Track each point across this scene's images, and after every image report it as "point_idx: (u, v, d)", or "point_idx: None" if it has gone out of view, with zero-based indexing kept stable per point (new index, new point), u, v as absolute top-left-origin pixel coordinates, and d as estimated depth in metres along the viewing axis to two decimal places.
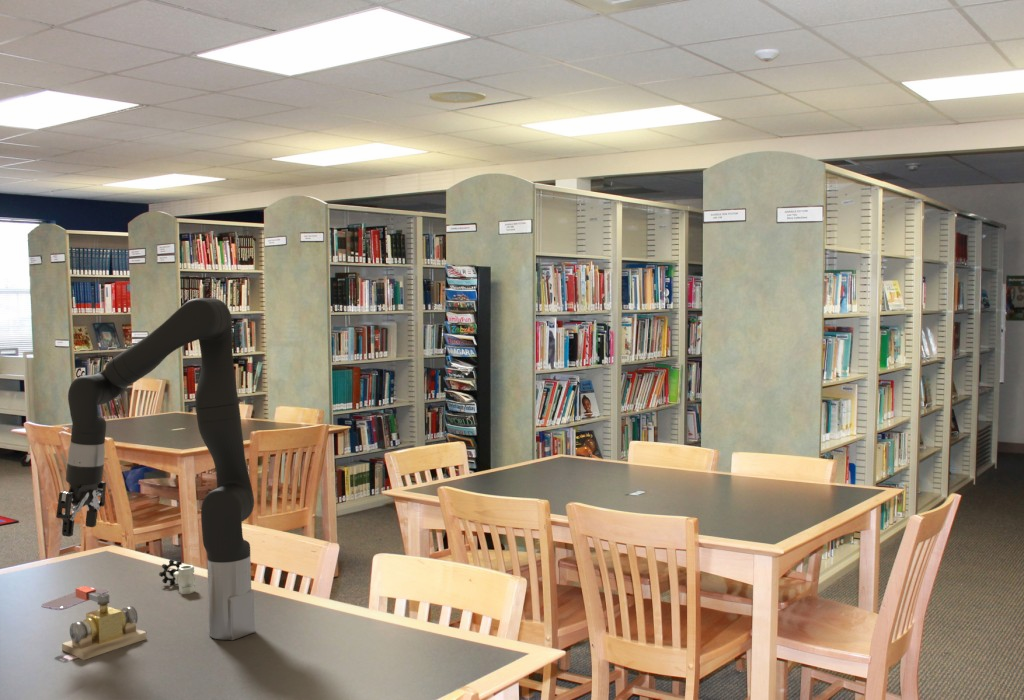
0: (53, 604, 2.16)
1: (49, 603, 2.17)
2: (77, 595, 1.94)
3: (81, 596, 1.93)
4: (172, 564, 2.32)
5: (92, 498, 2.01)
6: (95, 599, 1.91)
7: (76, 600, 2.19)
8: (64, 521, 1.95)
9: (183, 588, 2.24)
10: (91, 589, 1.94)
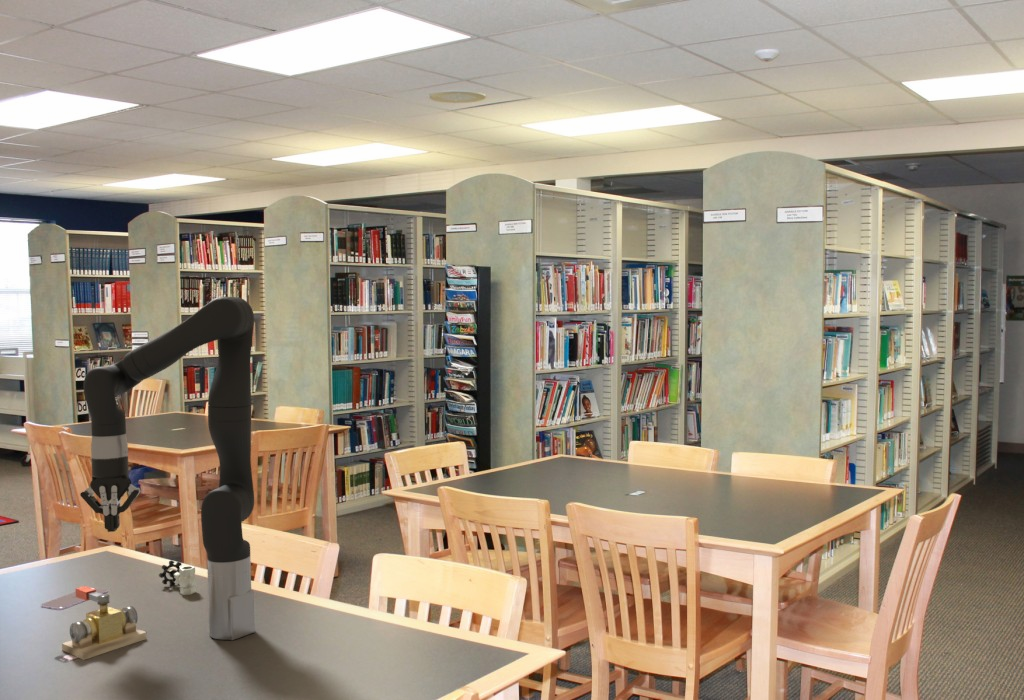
0: (52, 604, 2.16)
1: (49, 603, 2.17)
2: (77, 595, 1.94)
3: (81, 596, 1.93)
4: (172, 565, 2.31)
5: None
6: (95, 599, 1.91)
7: (75, 600, 2.19)
8: None
9: (184, 589, 2.23)
10: (91, 589, 1.94)
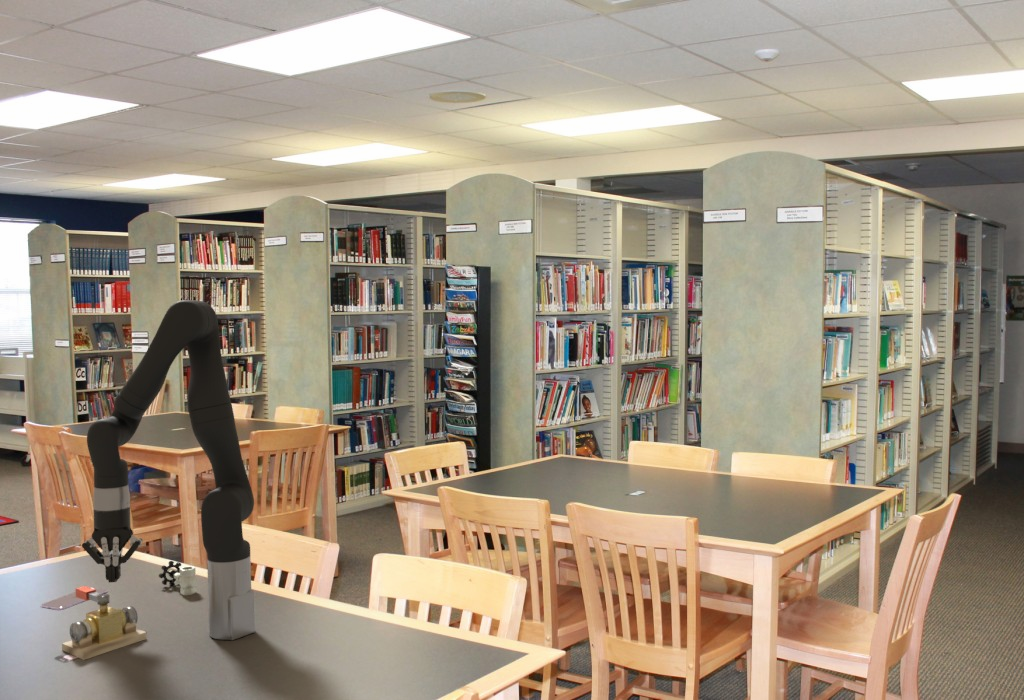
0: (52, 604, 2.16)
1: (48, 603, 2.17)
2: (77, 595, 1.94)
3: (81, 596, 1.93)
4: (172, 565, 2.31)
5: None
6: (95, 599, 1.91)
7: (75, 600, 2.19)
8: None
9: (185, 589, 2.23)
10: (91, 589, 1.94)
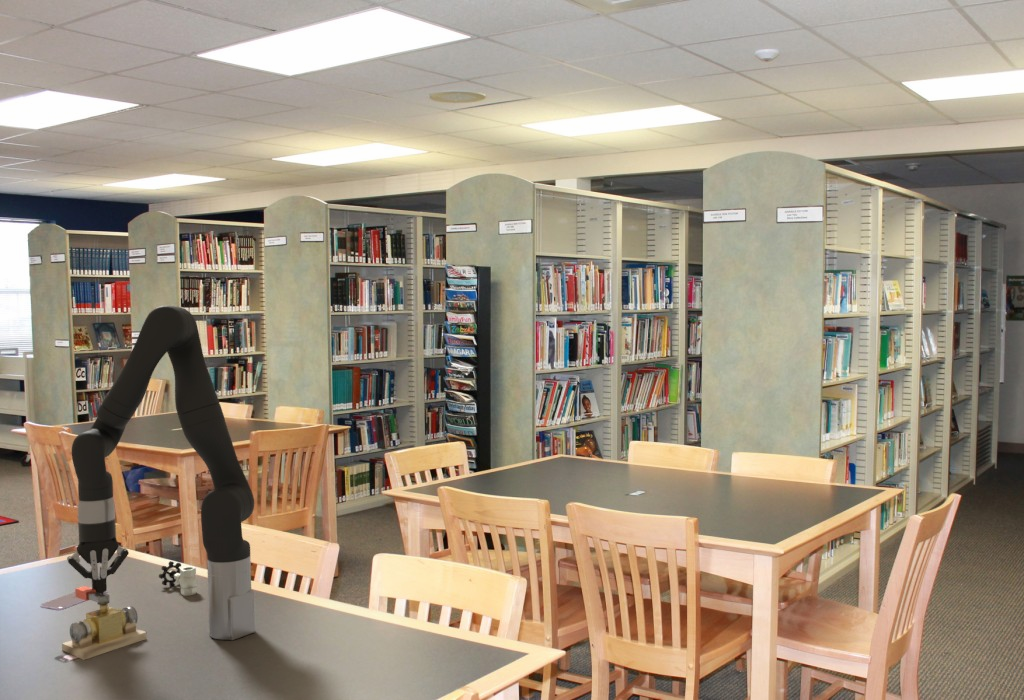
0: (52, 604, 2.16)
1: (48, 603, 2.17)
2: (77, 595, 1.94)
3: (81, 596, 1.93)
4: (172, 566, 2.31)
5: (101, 557, 1.95)
6: (95, 599, 1.91)
7: (75, 600, 2.19)
8: None
9: (185, 590, 2.23)
10: (91, 589, 1.94)
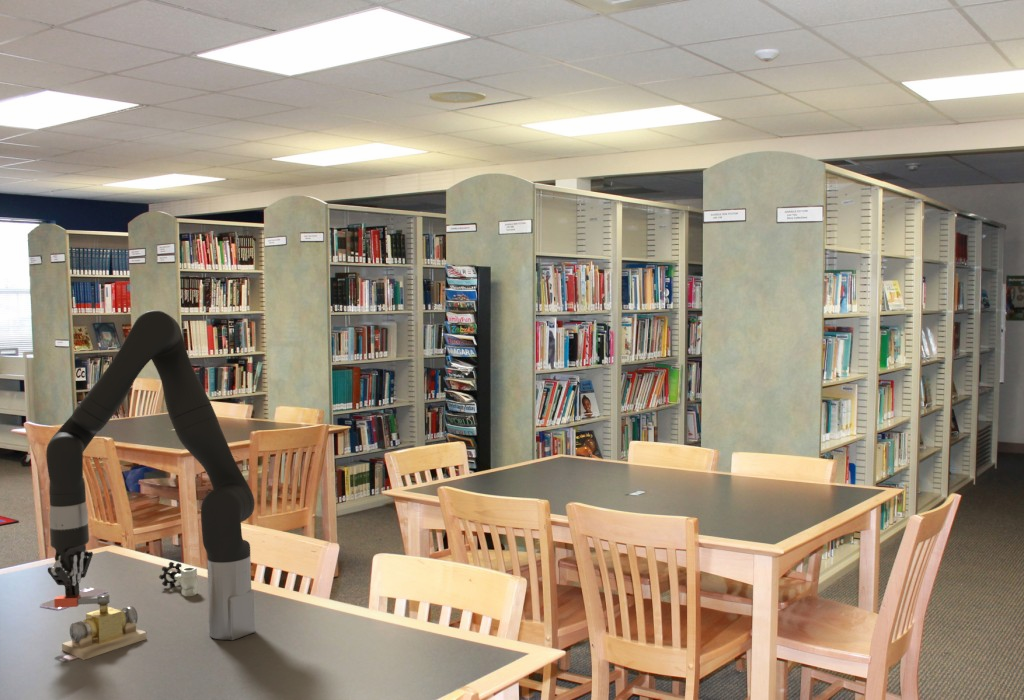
0: (51, 604, 2.16)
1: (48, 603, 2.17)
2: (58, 605, 1.88)
3: (66, 604, 1.88)
4: (172, 566, 2.30)
5: (78, 561, 1.92)
6: (93, 602, 1.89)
7: None
8: (66, 587, 1.91)
9: (186, 590, 2.22)
10: (75, 595, 1.90)
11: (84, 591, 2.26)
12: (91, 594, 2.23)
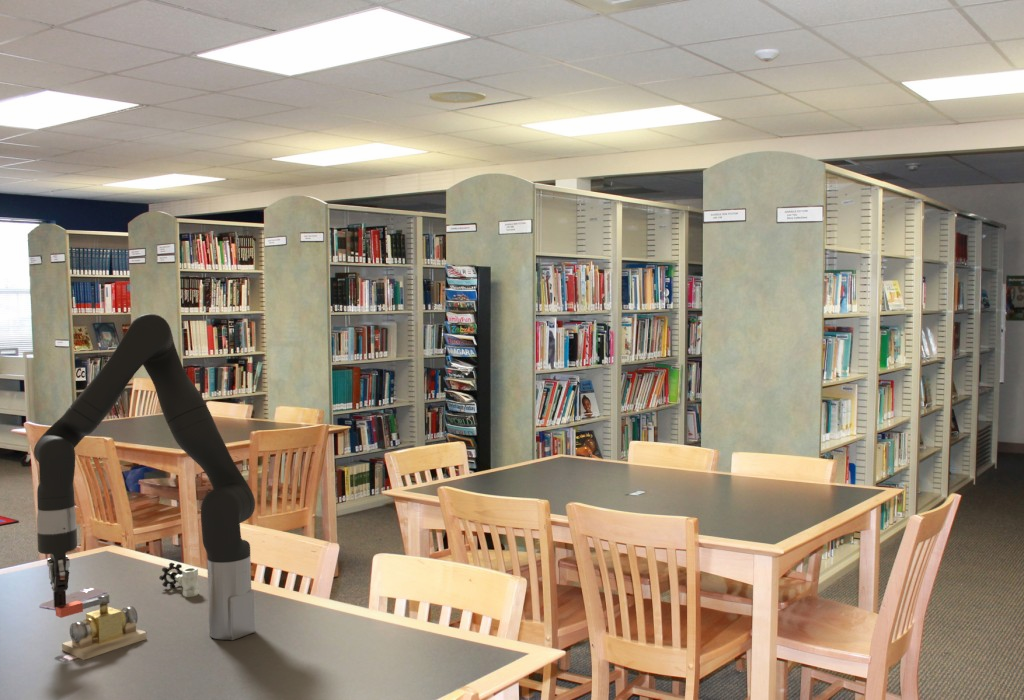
0: (51, 604, 2.16)
1: (47, 603, 2.17)
2: (64, 614, 1.82)
3: (73, 611, 1.84)
4: (172, 567, 2.29)
5: None
6: (96, 603, 1.88)
7: (74, 600, 2.18)
8: (58, 593, 1.87)
9: (187, 591, 2.22)
10: (74, 602, 1.86)
11: (84, 591, 2.26)
12: (91, 594, 2.23)
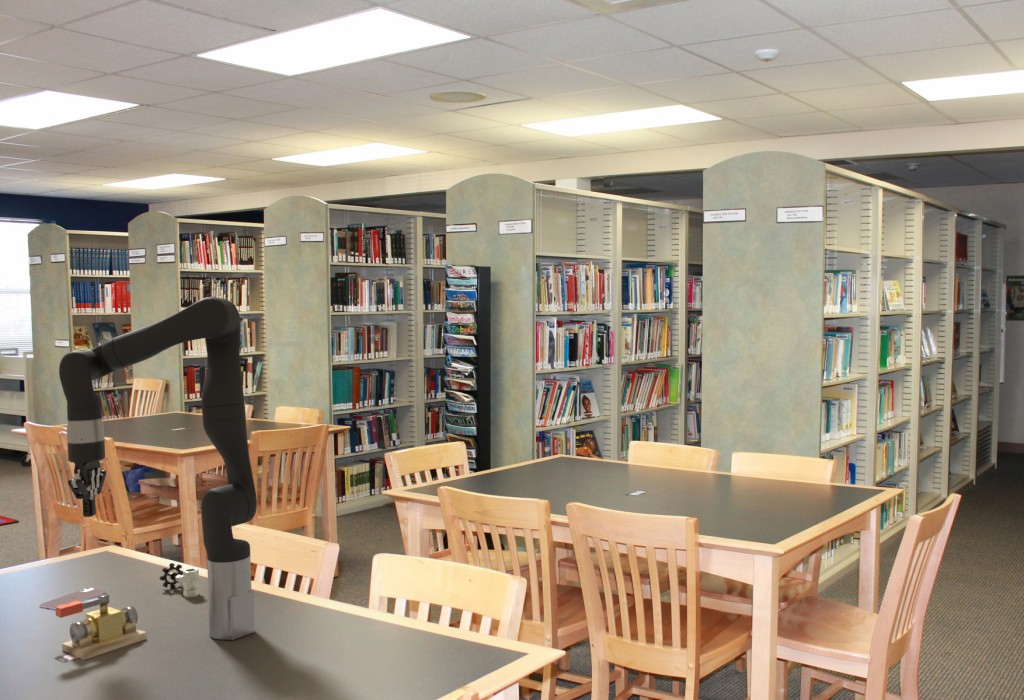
0: (51, 604, 2.16)
1: (47, 603, 2.17)
2: (64, 614, 1.82)
3: (73, 611, 1.84)
4: (172, 568, 2.29)
5: (95, 476, 1.97)
6: (96, 603, 1.88)
7: (74, 601, 2.18)
8: (84, 502, 1.95)
9: (188, 591, 2.21)
10: (74, 602, 1.86)
11: (84, 591, 2.25)
12: (91, 594, 2.23)
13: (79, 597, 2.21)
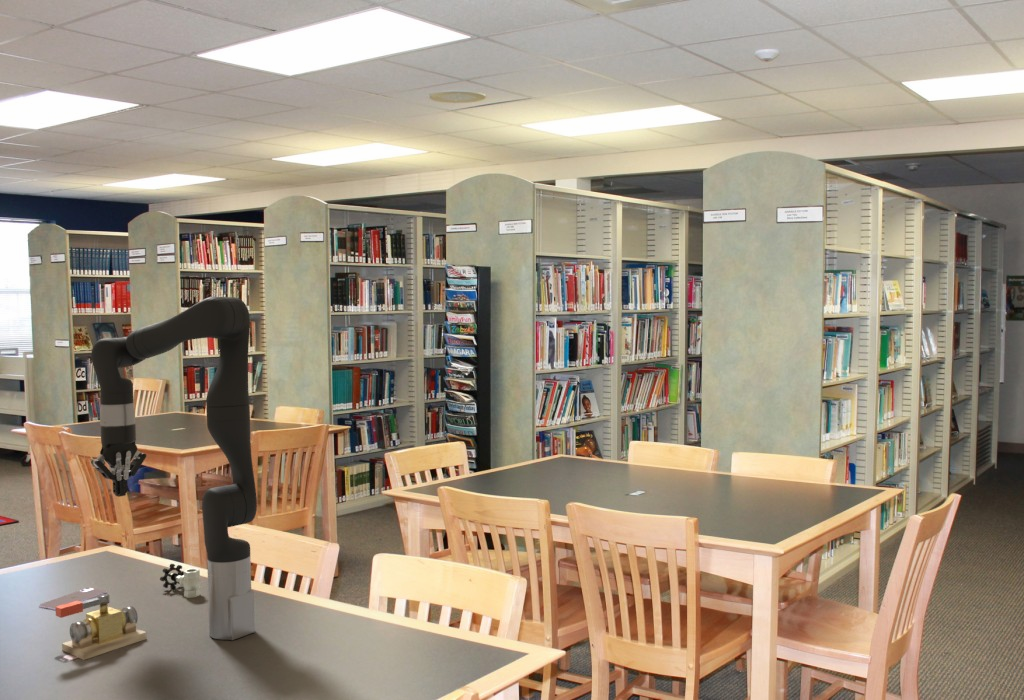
0: (50, 604, 2.16)
1: (47, 603, 2.17)
2: (64, 614, 1.82)
3: (73, 611, 1.84)
4: (173, 568, 2.29)
5: (124, 459, 2.06)
6: (96, 603, 1.88)
7: (74, 601, 2.18)
8: (113, 482, 2.05)
9: (189, 592, 2.21)
10: (74, 602, 1.86)
11: (84, 591, 2.25)
12: (90, 594, 2.23)
13: (79, 597, 2.21)
